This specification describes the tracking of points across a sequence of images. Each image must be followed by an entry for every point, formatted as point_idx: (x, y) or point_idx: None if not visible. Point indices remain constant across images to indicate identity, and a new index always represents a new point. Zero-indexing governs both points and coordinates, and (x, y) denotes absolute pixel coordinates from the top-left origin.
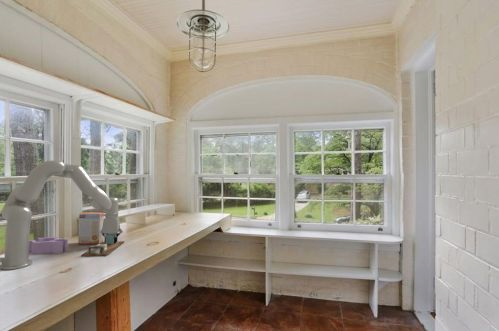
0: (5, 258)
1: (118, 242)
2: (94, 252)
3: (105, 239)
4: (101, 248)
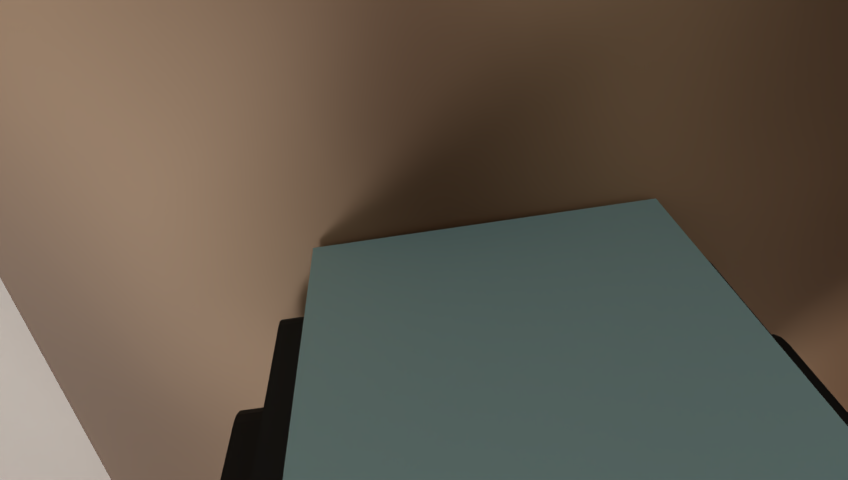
0: None
1: None
2: None
3: None
4: None
